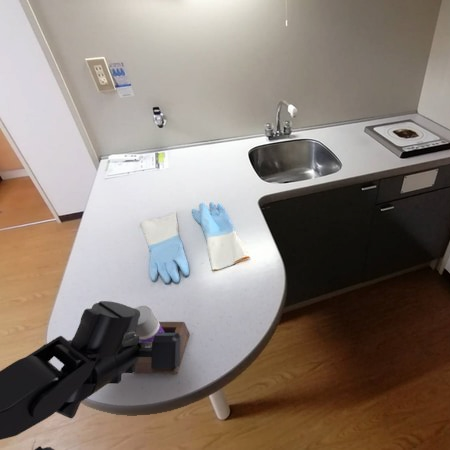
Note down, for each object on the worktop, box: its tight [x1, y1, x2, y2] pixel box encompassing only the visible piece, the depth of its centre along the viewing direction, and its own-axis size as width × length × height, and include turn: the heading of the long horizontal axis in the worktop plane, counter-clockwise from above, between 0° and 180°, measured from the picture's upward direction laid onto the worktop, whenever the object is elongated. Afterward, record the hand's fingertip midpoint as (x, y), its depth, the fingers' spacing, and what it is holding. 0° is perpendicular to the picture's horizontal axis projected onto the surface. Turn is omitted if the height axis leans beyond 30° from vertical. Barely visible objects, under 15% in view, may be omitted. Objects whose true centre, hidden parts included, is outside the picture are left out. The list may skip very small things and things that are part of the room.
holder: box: [132, 321, 190, 374], centre depth 67 cm, size 9×9×5 cm
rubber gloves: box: [140, 201, 251, 284], centre depth 95 cm, size 27×33×6 cm
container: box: [133, 305, 165, 348], centre depth 64 cm, size 5×5×15 cm
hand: (149, 338), depth 63 cm, fingers open, 9 cm apart
